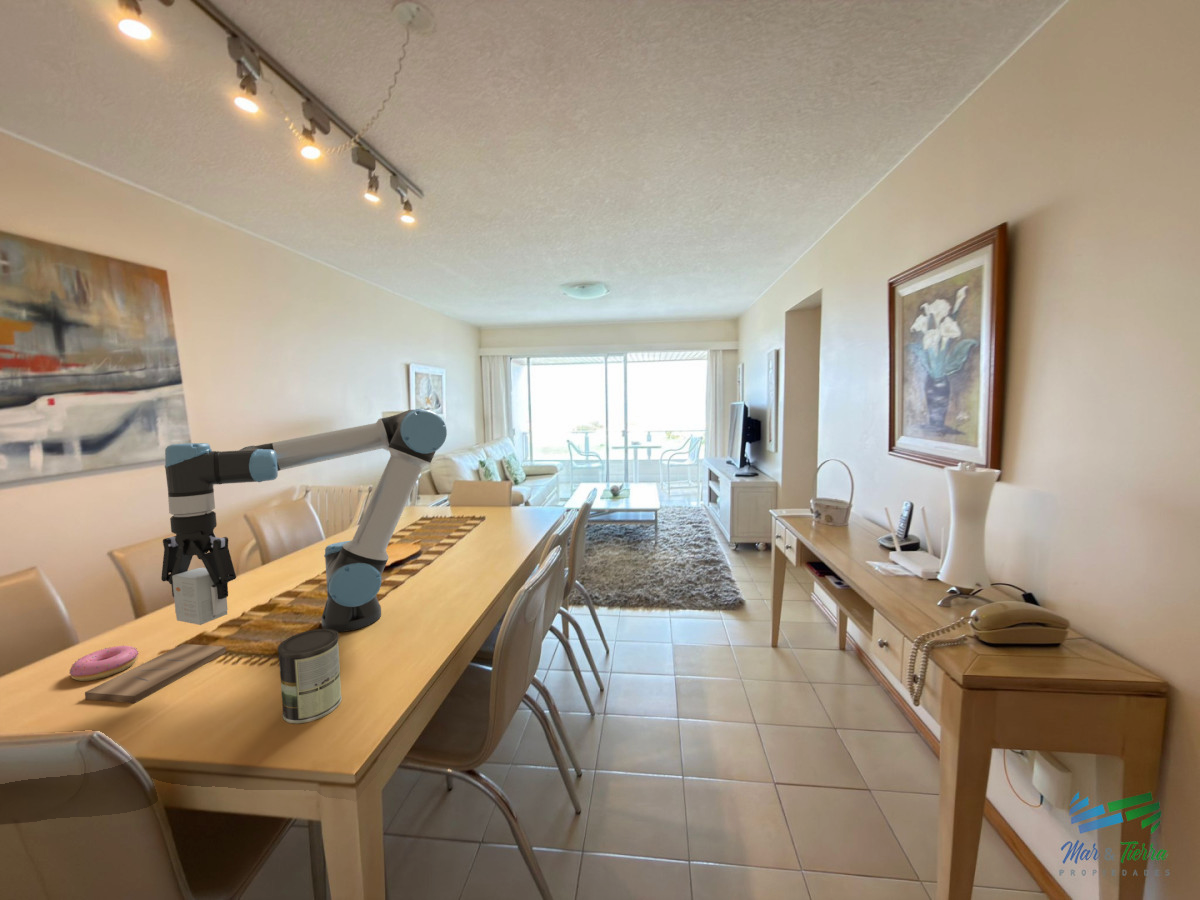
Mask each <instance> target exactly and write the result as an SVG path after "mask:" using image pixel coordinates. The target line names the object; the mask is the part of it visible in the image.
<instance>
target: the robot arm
mask: <svg viewBox="0 0 1200 900" xmlns="http://www.w3.org/2000/svg"><path fill="white" fill-rule="evenodd" d="M447 433H448V432H447V425H446V423H445V421H444V420H443V418H442V417H441V416H440V415H439V414H437V412H434V411H432V410H430V409H429V410H428V409H427V408H416V409H409V410H406V411H402V412H401V413H398V414H394V415H389V416H386V417H383V418H378V420H376V422H374V423H370V424H369V423H368V424H365V425H358V426H353V427H348V428H343V429H337V430H331V431H328V432H327V431H326V432H321V433H317V434H311V435H306V436H299V437H296V438H295V437H294V438H290V439H285V440H281V441H280V440H279V441H274V442H270V443H263V444H259V445H249V446H244V447H243V448H241V449H239V450H226V451H225V450H224V451H218V450H217V451H216V450H213V449H212V448H211V446H210V444H209V443H206V442H199V443H197V442H196V443H195V442H194V443H193V442H192V443H190V442H189V443H188V442H187V443H174V444H169V445H167V447H166V448H165V450H164V457H165V459H164V463H165V464H164V468H165V475H166V485H167V495H168V497H167V499H168V501H167V502H168V512H169V513H168V514H170V515H172V516H171V517H170V518H169V520H170V522H169V523H170V531H171V533H173V534H175V535H174V536H173V535H172V536H170V537H165V538H163V539H162V545H163V548H164V549H163V559H162V567H161V569H162V570H161V577H160V578H161V581H162V582H168V583H169V585H171V586H170V587H171V594H172V595H171V596H172V597H173V599H174V603H175V598H174V589H173V579H172V576H173V575H176V574H179V573H183V572H186V571H189V568H190V565H191V562H192V559H193V557H194V556H196V557H197V559H199V560H201V562H202V564H203V565H204V568H206V569H207V571H208V573H209V575H210V577H211V579H212V581H213V583H214V585H212V586H211V594H212V606H213V615H218V614H220V613H222V612H224V611H226V610H227V611H228V610H229V609H228V600H227V599H228V597H229V589H228V588H229V586H228V585H229V582H231V581H234V580H236V578H237V575H236V570H235V568H234V564H233V561H232V557H231V554H230V550H229V538H228V537H227V536H224V537H218V536H216V535H215V531H214V530H215V528H216V527H217V524H218V523H217V513H216V511H214V510H215V509H216V503H215V493H214V492H215V489H214V488H215V487H214V486H215V485H224V484H225V485H226V484H228V485H229V484H242V483H261V482H267V481H274V480H276V479H277V478H278V472H279V471H284V470H288V469H292V468H296V467H297V468H298V467H302V466H306V465H311V464H316V463H321V462H325V461H330V460H335V459H340V458H344V457H350V456H354V455H358V454H359V455H360V454H364V453H367V452H371V451H376V450H377V451H379V450H382V449H383V450H385V451H386V452H389V453H390V457H389V459H388V461H387V464H386V466H385V468H384V469H383V472H382V474H381V476H380V479H379V481H378V483H377V485H376V488H375V489H374V491H373V494H372V496H371V499H370V501H369V502H368V505H367V507H366V509H365V512H364V514H363V515H362V517H361V520H360V522H359V525H358V527H357V528H356V532H355V533H354V536H353V537H352V539H351V540H346V541H339V542H336V543H335V542H334V543H331V544H328V545H327V546H326V547H325V548H324V555H323V557H324V558H325V559H324V560H325V578H326V579H325V580H326V591H327V596H326V597H327V599H326V602H325V605H324V609H323V612H322V616H321V629H332V630H335V631H337V632H338V633H340V632H341V633H343V632H348V631H354V630H358V629H361V628H365V627H367V626H369V625H372V624H373V623H376V622H377V621H378V620H379V619H380V618H381V617H382V607H381V604H380V602H379V600H378V597H377V595H378V593H379V591H380V590H381V586H382V583H383V581H382V580H383V577H382V575H383V572H384V569H385V568H386V565H387V562H388V560H389V558H390V557H389V555H388V553H387V548H388V545H389V544H390V541H391V539H392V537H393V535H394V532H395V530H396V527H397V525H398V523H399V521H400V519H401V516H402V514H403V513H404V510H405V507H406V505H407V503H408V500H409V499H410V496H411V494H412V492H413V489H414V488H415V484H416V482H417V480H418V478H419V476H420V474H421V471H422V469H423V468H424V467H426V466H429V465H431V463H432V461H433V458H434V456H435V454H436V452H437V451H438V450H439V449H440V448H441V447H442V446H443V445H444V443H445V441H446V439H447ZM219 578H221V579H219ZM174 612H175V614H176V608H175V607H174Z"/></svg>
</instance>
